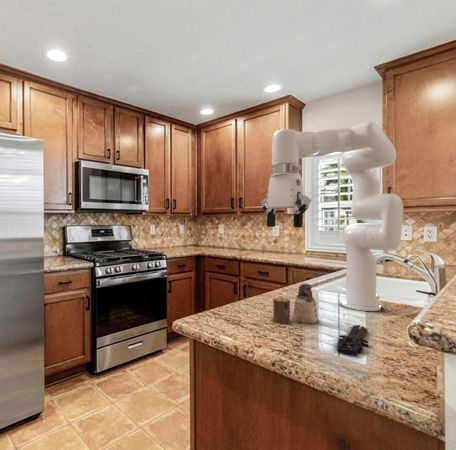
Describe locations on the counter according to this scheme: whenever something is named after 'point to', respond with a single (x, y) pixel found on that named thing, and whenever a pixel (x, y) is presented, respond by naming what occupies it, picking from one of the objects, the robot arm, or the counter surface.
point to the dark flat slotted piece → (350, 336)
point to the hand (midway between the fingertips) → (283, 227)
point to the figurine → (305, 305)
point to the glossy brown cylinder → (281, 310)
